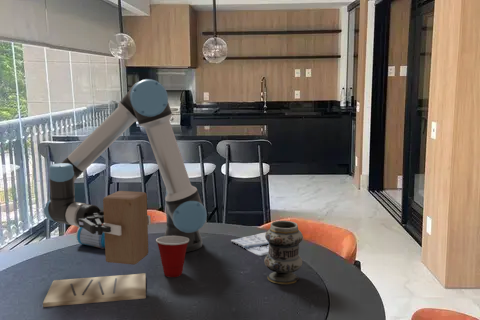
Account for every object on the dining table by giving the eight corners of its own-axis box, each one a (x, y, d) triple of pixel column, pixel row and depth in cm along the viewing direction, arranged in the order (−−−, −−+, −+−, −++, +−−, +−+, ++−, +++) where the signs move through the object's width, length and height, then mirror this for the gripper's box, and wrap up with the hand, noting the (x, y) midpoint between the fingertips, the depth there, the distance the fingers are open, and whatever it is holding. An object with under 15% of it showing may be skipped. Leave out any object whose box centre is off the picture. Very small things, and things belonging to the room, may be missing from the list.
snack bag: (269, 235, 198) (269, 230, 198) (299, 249, 181) (299, 244, 181) (229, 243, 189) (229, 238, 188) (257, 258, 172) (257, 253, 171)
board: (145, 276, 154) (145, 273, 154) (145, 298, 139) (145, 293, 138) (53, 284, 149) (53, 280, 149) (43, 306, 133) (42, 302, 133)
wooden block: (135, 266, 139) (133, 198, 136) (104, 263, 141) (101, 197, 138) (149, 254, 149) (147, 191, 146) (120, 252, 151) (117, 189, 148)
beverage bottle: (72, 233, 181) (116, 242, 174) (85, 218, 187) (128, 225, 180) (80, 249, 186) (123, 257, 179) (92, 233, 192) (134, 241, 185)
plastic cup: (195, 269, 160) (194, 235, 158) (181, 282, 150) (180, 245, 148) (166, 265, 164) (165, 232, 162) (150, 277, 153) (149, 241, 152)
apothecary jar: (297, 288, 145) (298, 231, 142) (259, 283, 149) (259, 227, 146) (305, 274, 156) (306, 220, 153) (270, 269, 160) (270, 217, 158)
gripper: (112, 218, 163) (162, 227, 152) (53, 237, 143) (105, 249, 132) (111, 196, 162) (161, 204, 151) (51, 212, 141) (104, 222, 131)
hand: (135, 225), depth 142 cm, fingers closed on wooden block, 12 cm apart
